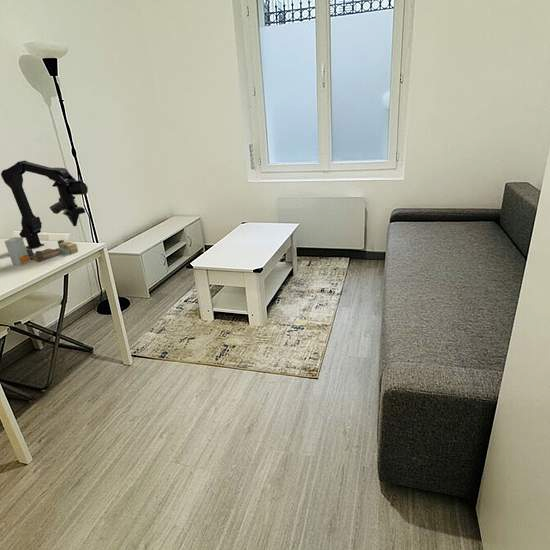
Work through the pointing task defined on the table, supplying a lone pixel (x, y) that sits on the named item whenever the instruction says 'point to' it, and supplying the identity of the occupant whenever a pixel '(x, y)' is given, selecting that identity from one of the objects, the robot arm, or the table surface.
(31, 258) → the stool seat
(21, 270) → the table surface
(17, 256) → the skincare box
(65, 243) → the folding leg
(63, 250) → the socket cleat
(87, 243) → the table surface
